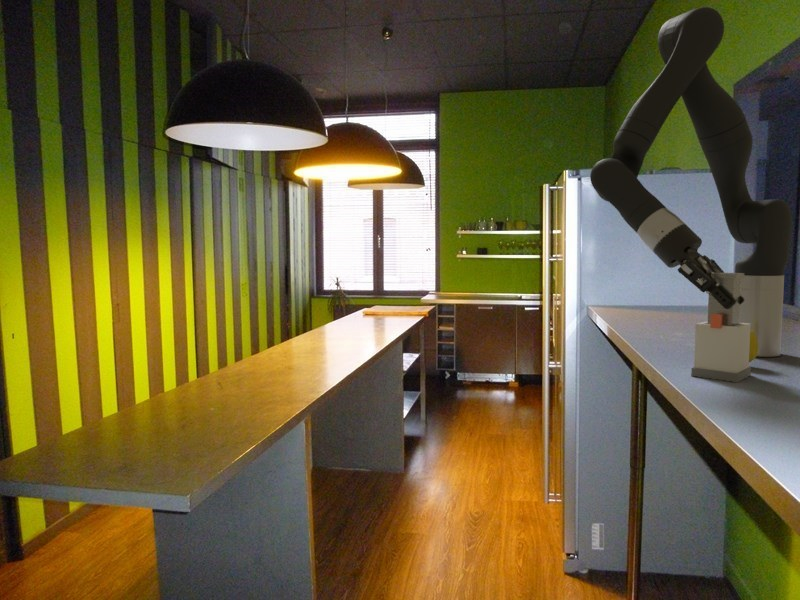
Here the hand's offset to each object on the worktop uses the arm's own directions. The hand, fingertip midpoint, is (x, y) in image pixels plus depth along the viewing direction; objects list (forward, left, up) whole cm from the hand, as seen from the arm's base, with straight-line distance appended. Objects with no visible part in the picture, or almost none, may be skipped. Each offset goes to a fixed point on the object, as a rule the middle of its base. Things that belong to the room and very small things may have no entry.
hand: (736, 304), depth 106 cm
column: (0, -2, -11) cm, 11 cm away
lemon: (-12, -2, -13) cm, 18 cm away
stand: (0, -2, -13) cm, 13 cm away
